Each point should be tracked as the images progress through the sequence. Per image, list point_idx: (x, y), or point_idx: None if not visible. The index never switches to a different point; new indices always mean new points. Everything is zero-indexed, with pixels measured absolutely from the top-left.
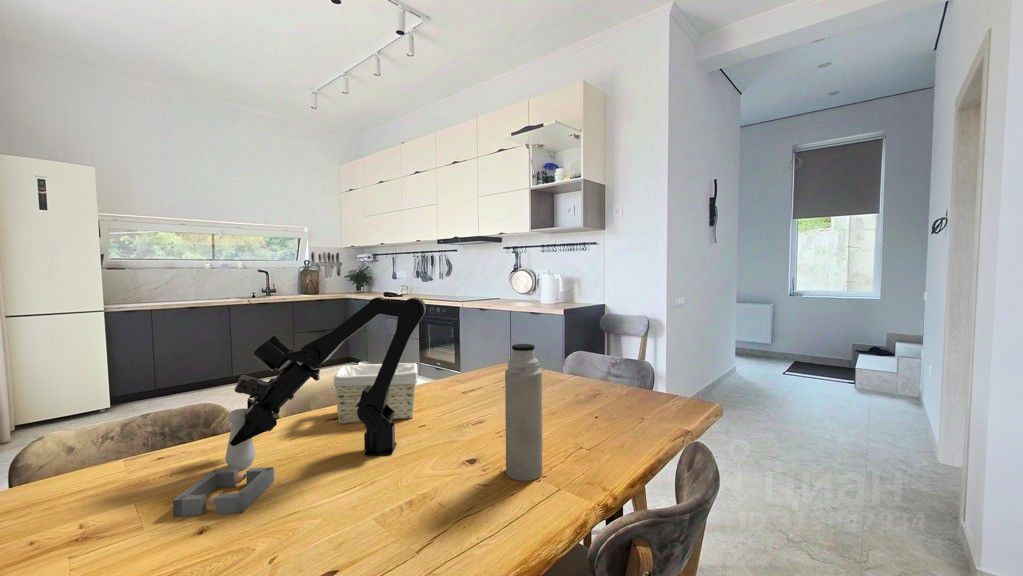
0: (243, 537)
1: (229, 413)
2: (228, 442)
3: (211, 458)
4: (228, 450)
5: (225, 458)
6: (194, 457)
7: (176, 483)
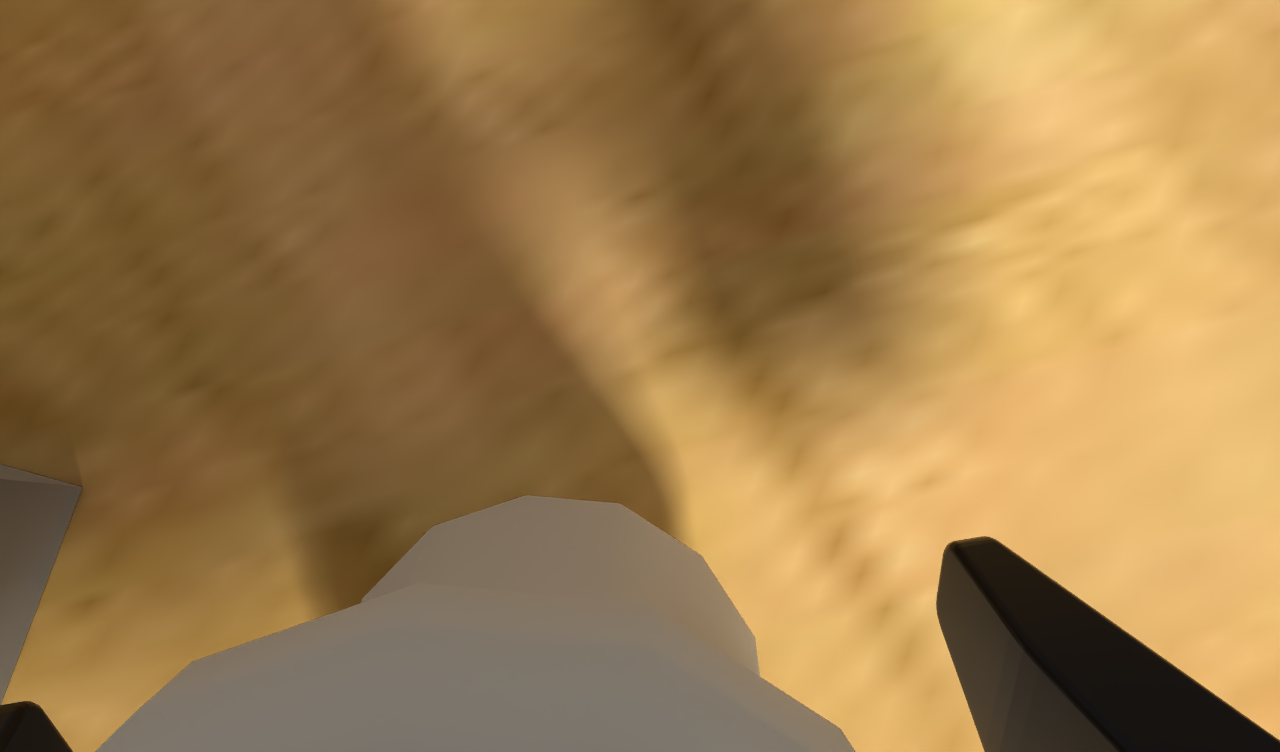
0: None
1: (310, 693)
2: (495, 554)
3: (1005, 220)
4: (409, 572)
5: (504, 503)
6: (1109, 7)
7: (319, 40)
